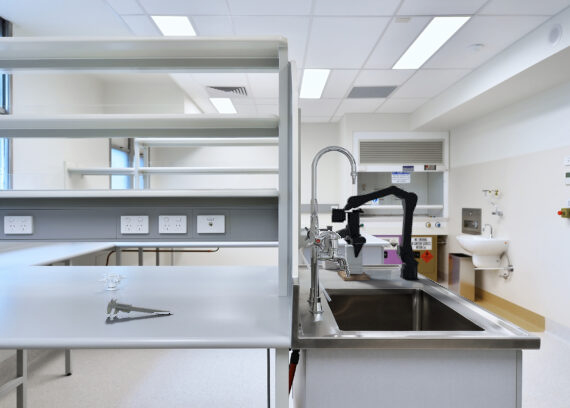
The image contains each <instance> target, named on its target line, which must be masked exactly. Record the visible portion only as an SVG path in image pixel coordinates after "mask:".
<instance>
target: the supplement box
mask: <svg viewBox="0 0 570 408" xmlns="http://www.w3.org/2000/svg"><path fill="white" fill-rule="evenodd" d="M344 251H345V252H344V259H345V258H346V260H347V262H348V264H349V271H350V274H363V272H364V269H363V267H364V265H363V264H364V263H363V248H362V249H361V251H360V253H359V255H358V257H357V258H355V255H354V249H353V246H352V245H347V244H344Z"/></svg>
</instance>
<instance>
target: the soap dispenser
mask: <svg viewBox="0 0 570 408" xmlns="http://www.w3.org/2000/svg"><path fill="white" fill-rule="evenodd" d="M319 230H320V231H319ZM328 230H330V231H332V232H333V225H326V228H319V229H318V231H319V232H327V231H328ZM321 261H322V260H321ZM321 265H322V266H321V267H322V268H323V269H324V270H338V262H337V263H333V262H329V261H322V263H321Z"/></svg>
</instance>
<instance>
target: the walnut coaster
mask: <svg viewBox="0 0 570 408" xmlns="http://www.w3.org/2000/svg"><path fill="white" fill-rule="evenodd" d="M345 271H346V270H338V271H337V275H338V277H340V278H341V279H342V280H343V281H344V282H345V281H346V280H348V281H371V276H370V275H368V273H366V272H365V271H363V274H350V278H347V276H346V273H345ZM348 281H347V282H348Z"/></svg>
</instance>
